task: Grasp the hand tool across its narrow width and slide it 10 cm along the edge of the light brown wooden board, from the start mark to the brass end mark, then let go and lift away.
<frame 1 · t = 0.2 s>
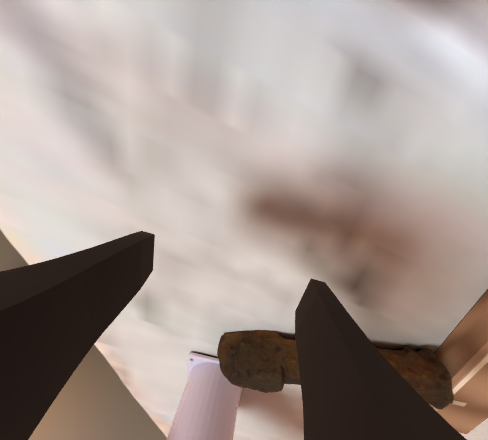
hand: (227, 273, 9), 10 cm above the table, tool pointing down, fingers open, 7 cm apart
hand tool: (316, 344, 25), on the table
light brown wooden board: (479, 343, 21), on the table
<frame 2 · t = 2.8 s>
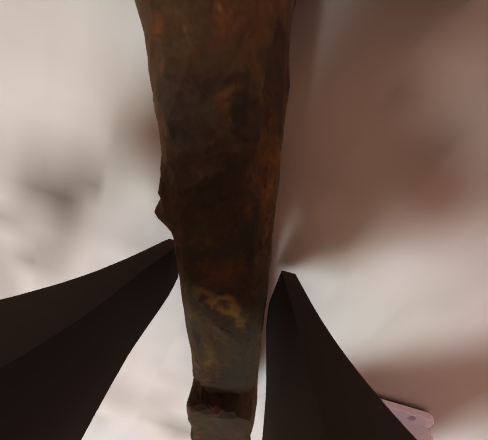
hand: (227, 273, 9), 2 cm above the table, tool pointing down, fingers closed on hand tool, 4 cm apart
hand tool: (249, 256, 12), on the table, touching gripper
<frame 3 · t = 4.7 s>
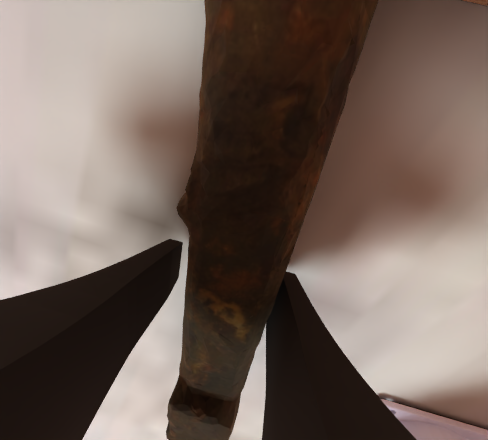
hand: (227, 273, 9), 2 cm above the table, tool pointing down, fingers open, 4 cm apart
hand tool: (254, 262, 12), on the table, touching gripper
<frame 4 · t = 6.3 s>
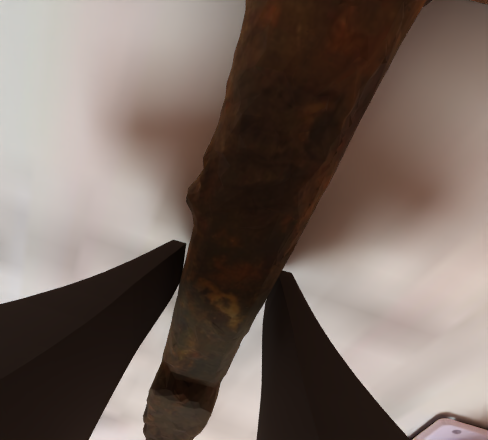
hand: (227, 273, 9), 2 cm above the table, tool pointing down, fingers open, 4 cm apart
hand tool: (244, 255, 12), on the table, touching gripper
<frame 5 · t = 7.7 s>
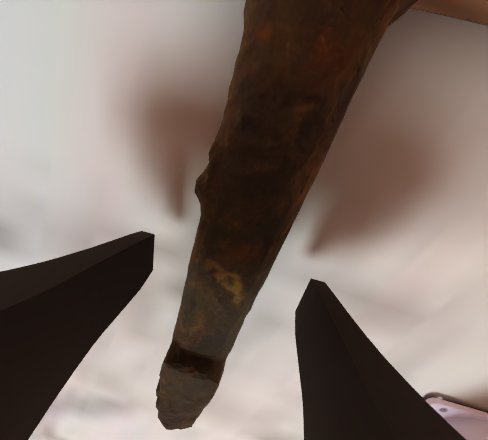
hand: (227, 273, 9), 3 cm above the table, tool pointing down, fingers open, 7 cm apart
hand tool: (246, 245, 13), on the table
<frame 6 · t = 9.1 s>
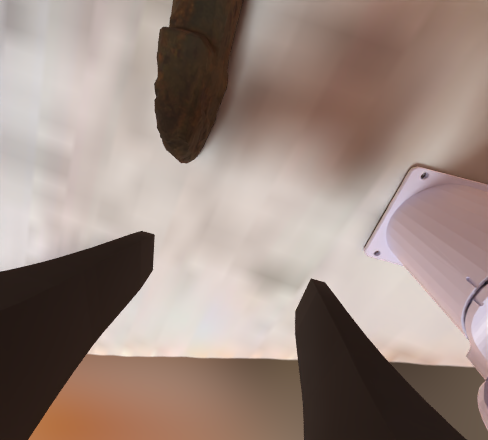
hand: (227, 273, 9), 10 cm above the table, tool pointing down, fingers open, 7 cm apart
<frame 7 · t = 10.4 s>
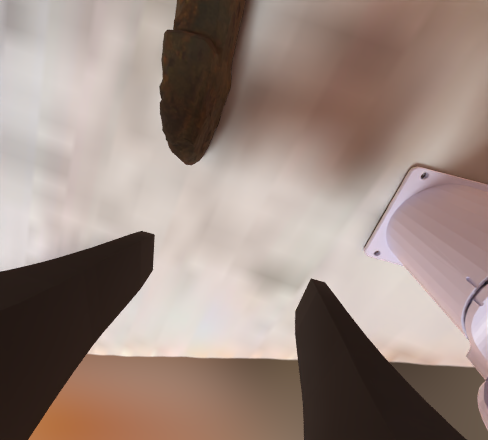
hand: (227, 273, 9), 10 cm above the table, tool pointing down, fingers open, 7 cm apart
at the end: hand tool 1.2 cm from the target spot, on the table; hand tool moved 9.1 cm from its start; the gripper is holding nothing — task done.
